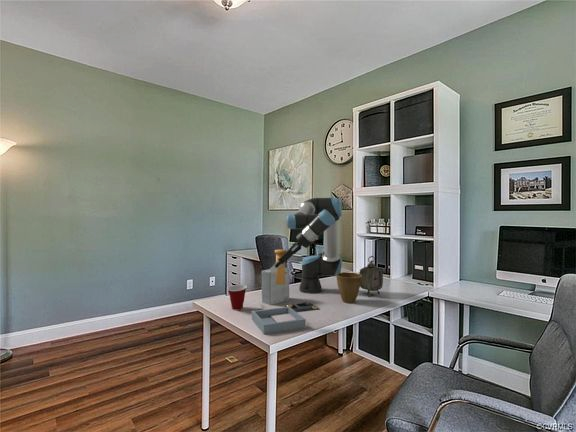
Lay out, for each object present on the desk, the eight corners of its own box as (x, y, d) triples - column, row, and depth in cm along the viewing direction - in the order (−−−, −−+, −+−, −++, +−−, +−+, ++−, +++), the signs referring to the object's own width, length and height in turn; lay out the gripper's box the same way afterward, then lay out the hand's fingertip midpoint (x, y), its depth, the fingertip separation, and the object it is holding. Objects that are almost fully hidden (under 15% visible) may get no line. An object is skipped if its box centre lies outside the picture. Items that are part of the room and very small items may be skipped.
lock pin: (283, 281, 150) (283, 249, 150) (288, 284, 145) (288, 250, 145) (272, 282, 148) (272, 249, 148) (276, 285, 142) (277, 251, 142)
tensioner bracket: (310, 305, 173) (310, 300, 173) (320, 312, 162) (320, 306, 162) (284, 308, 167) (284, 303, 167) (292, 315, 156) (292, 310, 156)
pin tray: (288, 314, 159) (288, 306, 159) (305, 327, 140) (305, 319, 140) (251, 319, 151) (251, 311, 151) (263, 334, 133) (263, 325, 133)
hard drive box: (280, 299, 185) (281, 266, 185) (289, 302, 180) (290, 268, 180) (261, 304, 174) (261, 270, 174) (269, 307, 169) (270, 272, 169)
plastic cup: (223, 307, 168) (223, 286, 168) (240, 304, 175) (240, 283, 175) (233, 313, 160) (233, 290, 160) (250, 309, 167) (250, 287, 167)
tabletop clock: (370, 298, 189) (370, 257, 189) (358, 295, 196) (358, 256, 196) (382, 294, 199) (383, 255, 199) (370, 291, 206) (371, 254, 205)
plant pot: (331, 299, 186) (331, 273, 186) (352, 296, 192) (352, 271, 191) (344, 306, 172) (345, 278, 172) (366, 303, 178) (366, 276, 178)
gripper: (309, 244, 134) (273, 279, 138) (314, 241, 151) (282, 272, 155) (298, 232, 135) (262, 267, 139) (304, 230, 152) (272, 261, 156)
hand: (272, 270), depth 147 cm, fingers closed on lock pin, 4 cm apart
